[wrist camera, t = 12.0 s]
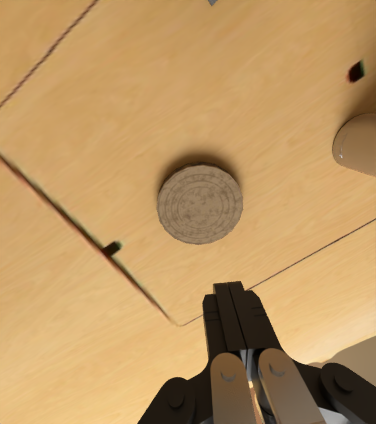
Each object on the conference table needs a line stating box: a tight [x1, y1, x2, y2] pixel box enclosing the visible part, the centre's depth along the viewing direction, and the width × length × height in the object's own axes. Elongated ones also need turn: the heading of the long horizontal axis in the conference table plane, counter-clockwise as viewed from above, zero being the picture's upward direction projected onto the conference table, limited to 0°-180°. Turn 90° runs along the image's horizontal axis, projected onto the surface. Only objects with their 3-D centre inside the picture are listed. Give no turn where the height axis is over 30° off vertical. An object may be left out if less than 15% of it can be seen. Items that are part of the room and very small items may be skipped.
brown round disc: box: [157, 162, 243, 245], centre depth 40 cm, size 16×16×3 cm
